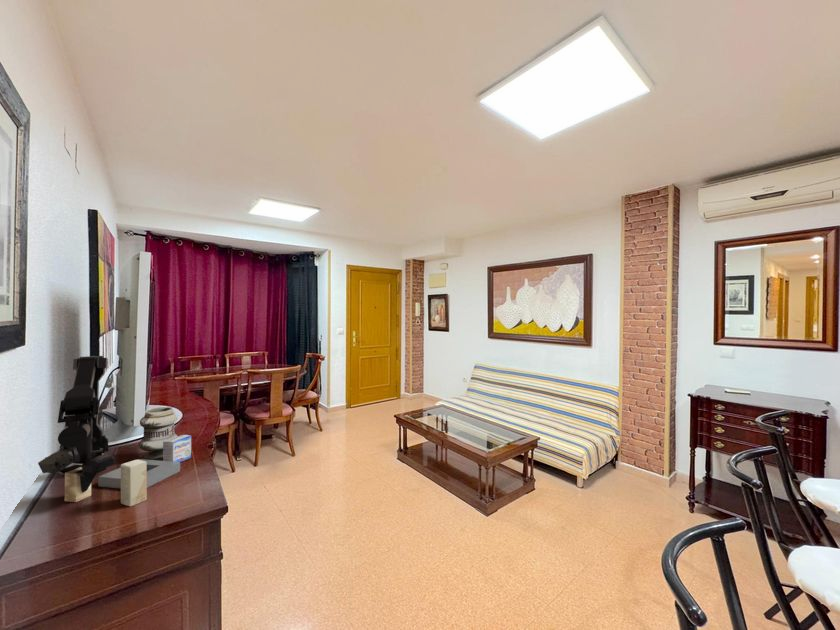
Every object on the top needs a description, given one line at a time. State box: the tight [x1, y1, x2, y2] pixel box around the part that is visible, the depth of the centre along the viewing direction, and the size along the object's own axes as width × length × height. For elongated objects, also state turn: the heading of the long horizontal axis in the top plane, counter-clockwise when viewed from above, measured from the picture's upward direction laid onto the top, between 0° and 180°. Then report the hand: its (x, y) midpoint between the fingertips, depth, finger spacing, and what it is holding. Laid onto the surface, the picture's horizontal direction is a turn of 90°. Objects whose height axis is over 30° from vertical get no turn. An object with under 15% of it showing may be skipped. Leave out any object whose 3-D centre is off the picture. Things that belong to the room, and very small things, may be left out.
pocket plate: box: [97, 458, 181, 489], centre depth 115 cm, size 16×14×3 cm
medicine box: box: [162, 434, 192, 463], centre depth 129 cm, size 8×4×9 cm, turn 168°
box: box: [120, 459, 148, 507], centre depth 100 cm, size 5×4×11 cm
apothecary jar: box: [138, 406, 179, 461], centre depth 134 cm, size 12×12×18 cm
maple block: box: [64, 467, 92, 503], centre depth 102 cm, size 4×4×8 cm
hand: (78, 491), depth 102 cm, fingers closed on maple block, 4 cm apart
